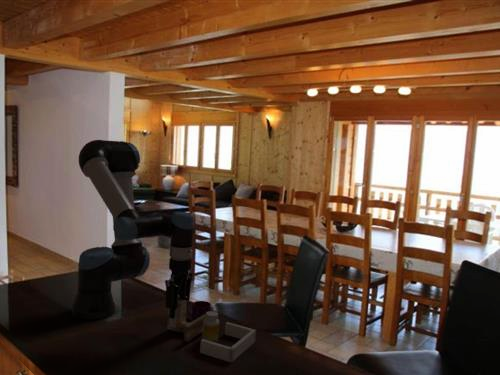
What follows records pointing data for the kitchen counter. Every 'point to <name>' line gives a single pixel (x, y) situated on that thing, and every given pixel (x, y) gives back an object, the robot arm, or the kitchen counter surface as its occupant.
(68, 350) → the kitchen counter surface
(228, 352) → the corral
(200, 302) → the mug
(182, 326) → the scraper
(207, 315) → the supplement bottle
